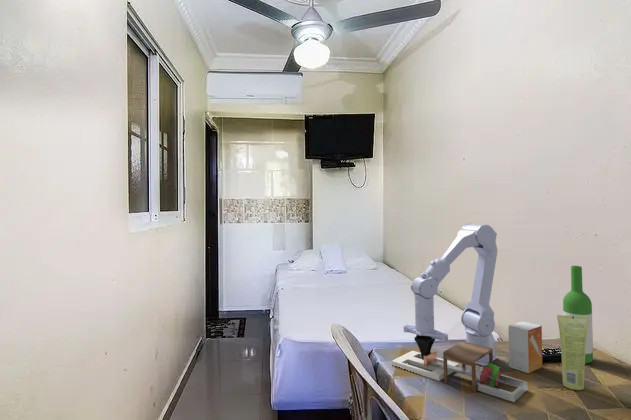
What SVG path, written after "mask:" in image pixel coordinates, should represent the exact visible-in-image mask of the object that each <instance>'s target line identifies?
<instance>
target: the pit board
mask: <svg viewBox="0 0 631 420" xmlns="http://www.w3.org/2000/svg"><path fill="white" fill-rule="evenodd" d="M437 361H438V362H442V363H444V362H443V358H441V357H437ZM407 363H408V364H407ZM447 364H448V365H452V366H455V367H459V368H460V366H459V365H460V363H459V362H455V361H452V360H448V359H447ZM392 365H393V367H395V366H397V367H396V368H398V367H400V368H399V369H401V368H402V369H401V370H404V369H406V370H405V371H407V370H408V371H407V372H410V371H411V373H413V372H414V374H416V373H417V375H419V374H420V376H423V377H425V378H429V379H432V380H435V381H438V382H440V381H442V380H444V368H441V367H437V366H434V365H431V364H430V365H428V366H424V360H422V356H421V352H419V351H416V350H411V351H409V352H407V353H404V354H403V355H401V356H399V357H397V358H395V359H393V360H391V366H392ZM447 372H448V376H449V375H451V374H452V373H455V372H454V371H451V370H447Z"/></svg>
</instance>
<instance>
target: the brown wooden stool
mask: <svg viewBox="0 0 631 420" xmlns="http://www.w3.org/2000/svg"><path fill="white" fill-rule="evenodd" d="M442 354H443V356H442V357H443V358H442V359H443V362H444V378H443V383H444V384H448V383H449V382H448V381H449V379H448V376H449V375H448V372H447V360H448V361H451V362H455V363H458V364H462V365H461V366H462V367H461V368H462V369H466V370H467V366H470V367H471V371H472V377H471V389H472V390H471V392H472V393H474V394H475V393H476V392H477V390H476V379H477V378H476V370H477V364H475V362H477V361H478V360H480V359H481V358H483V357H484V356H486V355H487V354H489V362H490V363H492V364H494V361H493V348H489V347H485V346H481V345H477V344H472V343H468V342H466V341H463V340H462V341H461V342H458V343H457V344H455V345H454V346H452V347H449V348H448V349H446V350H444V351H443V352H442ZM466 365H467V366H466Z"/></svg>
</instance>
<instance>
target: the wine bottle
mask: <svg viewBox="0 0 631 420" xmlns="http://www.w3.org/2000/svg"><path fill="white" fill-rule="evenodd" d="M592 304H593V303H592V300H591V298H590V296H588V295H587V293H585V292H584V290H583V267H582V266H581V265H571V266H570V291H569V292H567V293H566V294H565V295H564V297H563V300H562V315H565V316H582V317H588V325H587V334H586V348H585V365H586V364H591V363H592V362H593V359H594V338H593V336H594V334H593V305H592Z"/></svg>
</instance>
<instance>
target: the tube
mask: <svg viewBox="0 0 631 420" xmlns="http://www.w3.org/2000/svg"><path fill="white" fill-rule="evenodd" d="M556 318H557V323H558V329H559V330H558V331H559V339H560V352H561V370H562V372H561V373H562V385H563V386H564V387H565V388H568V389H570V390H573V391H574V390H575V391H582V390H584V389H585V369H586V368H585V366H586V364H585V348H586V334H587V325H588V317H582V316H565V315H563V314H557V316H556Z"/></svg>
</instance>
